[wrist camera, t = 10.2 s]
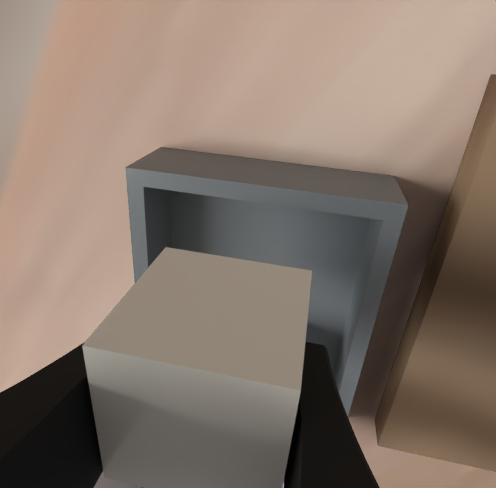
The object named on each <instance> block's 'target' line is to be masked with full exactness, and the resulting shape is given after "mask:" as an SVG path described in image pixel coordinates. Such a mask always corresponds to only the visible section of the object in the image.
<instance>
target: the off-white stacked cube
mask: <svg viewBox="0 0 496 488" xmlns="http://www.w3.org/2000/svg"><path fill="white" fill-rule="evenodd" d="M311 278H312V271H311V270H305V269H299V268H292V267H286V266H280V265H274V264H268V263H261V262H255V261H249V260H243V259H237V258H230V257H224V256H218V255H212V254H206V253H200V252H193V251H187V250H181V249H175V248H169V247H165V249H164V250H163V251H162V252H161V253H160V254H159V256H158V257H157V258H156V259H155V260H154V262H153V263H152V264H151V265H150V266H149V267H148V269H147V270H146V271H145V272H144V273H143V274H142V276H141V277H140V278H139V279H138V280H137V282H136V283H135V284H134V285H133V286H132V287H131V289H130V290H129V291H128V292H127V293H126V295H125V296H124V297H123V298H122V299H121V300H120V302H119V303H118V304H117V305H116V306H115V307H114V309H113V310H112V311H111V312H110V313H109V315H108V316H107V317H106V318H105V319H104V320H103V322H102V323H101V324H100V325H99V326H98V327H97V329H96V330H95V331H94V332H93V333H92V335H91V336H90V337H89V338H88V339H87V340H86V342H85V343H84V344H83V345H82V348H83V354H84V360H85V365H86V371H87V377H88V383H89V389H90V395H91V401H92V407H93V413H94V419H95V425H96V430H97V436H98V442H99V448H100V454H101V460H102V466H103V472H104V478H108V479H112V480H116V481H120V482H124V483H128V484H132V485H136V486H139V487H143V488H282V487H283V481H284V476H285V471H286V466H287V460H288V455H289V450H290V445H291V439H292V434H293V429H294V424H295V419H296V413H297V408H298V403H299V398H300V392H301V384H302V373H303V362H304V352H305V341H306V331H307V320H308V309H309V299H310V288H311Z"/></svg>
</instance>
